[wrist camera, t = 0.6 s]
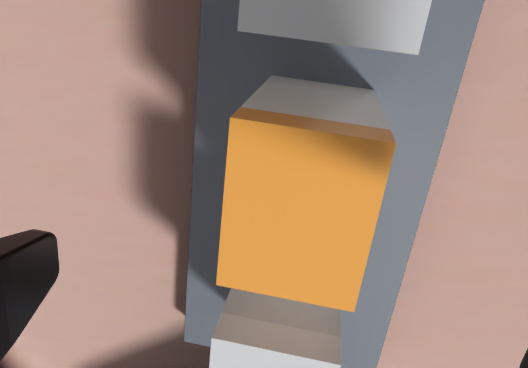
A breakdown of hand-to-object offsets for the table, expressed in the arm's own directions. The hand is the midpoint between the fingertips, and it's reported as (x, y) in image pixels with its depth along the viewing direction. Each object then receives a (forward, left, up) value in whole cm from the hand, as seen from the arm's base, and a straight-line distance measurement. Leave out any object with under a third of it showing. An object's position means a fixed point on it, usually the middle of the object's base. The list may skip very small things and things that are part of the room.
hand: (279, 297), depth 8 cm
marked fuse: (0, 0, -11) cm, 11 cm away
